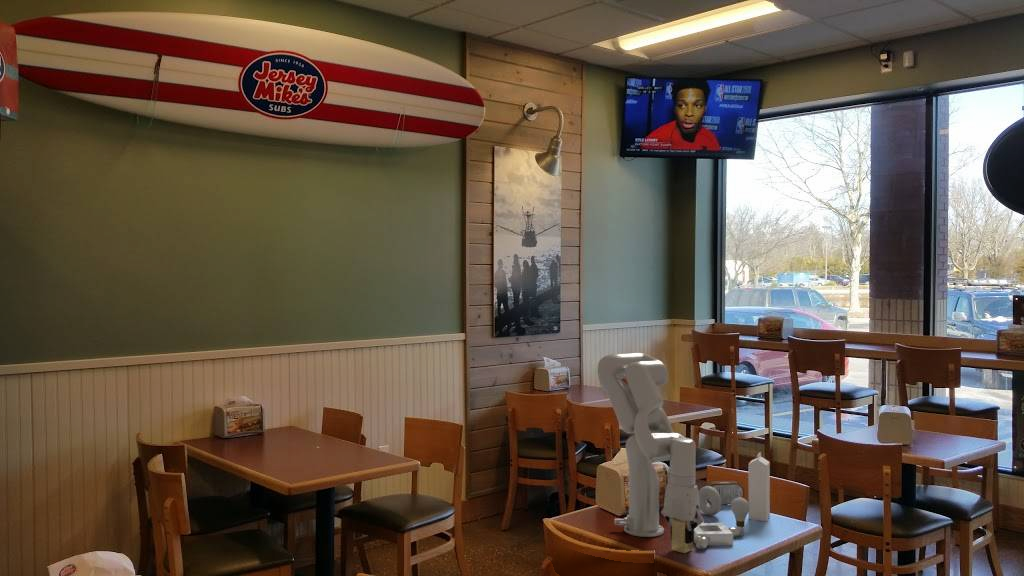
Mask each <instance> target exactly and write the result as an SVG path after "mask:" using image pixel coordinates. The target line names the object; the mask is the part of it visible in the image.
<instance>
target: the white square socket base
mask: <svg viewBox="0 0 1024 576" xmlns="http://www.w3.org/2000/svg"><path fill="white" fill-rule="evenodd" d="M728 528H729V527H727V526H726V524H724V523H723V522H704V523H702V524H700V525H698V526H697V527H696V528H695V529H694V541H693V542H694V543H695V544H696V542H697V541H698V540H699V539H700V538H701V537H702V536H708V537H709V538H710V540H711V541H710V543H709V545H708V546H734V537H733V533H732V532H731V531H730V530H729V529H728Z"/></svg>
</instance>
